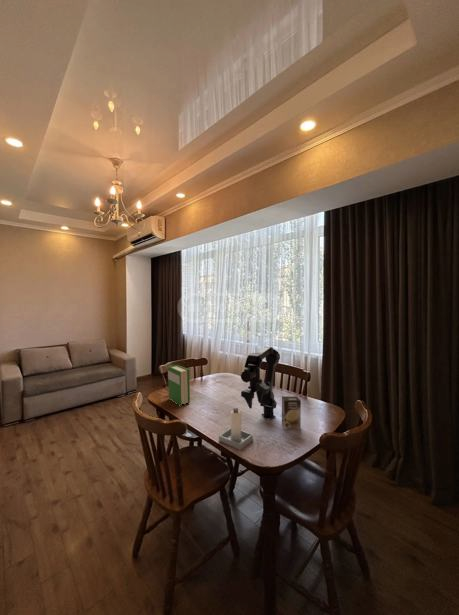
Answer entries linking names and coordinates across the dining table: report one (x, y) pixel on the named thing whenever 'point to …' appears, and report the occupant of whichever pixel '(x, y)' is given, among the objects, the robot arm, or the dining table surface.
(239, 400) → the dining table surface
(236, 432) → the cream bottle
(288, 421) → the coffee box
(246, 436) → the tray
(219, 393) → the dining table surface
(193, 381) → the dining table surface
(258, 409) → the dining table surface
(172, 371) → the hardback book
